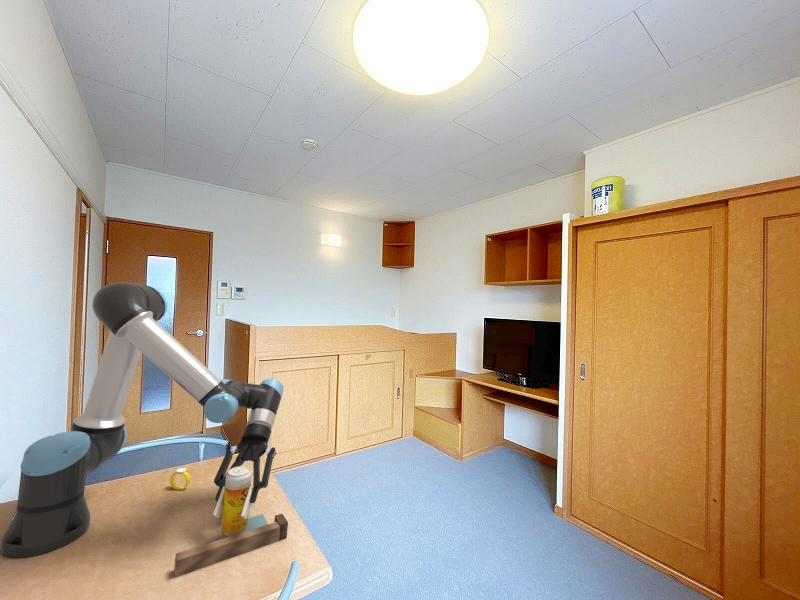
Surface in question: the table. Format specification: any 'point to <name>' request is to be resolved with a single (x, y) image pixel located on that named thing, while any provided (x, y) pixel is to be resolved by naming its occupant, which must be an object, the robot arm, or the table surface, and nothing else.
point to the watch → (180, 471)
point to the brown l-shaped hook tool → (230, 546)
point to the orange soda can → (235, 500)
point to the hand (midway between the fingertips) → (230, 516)
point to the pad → (255, 522)
